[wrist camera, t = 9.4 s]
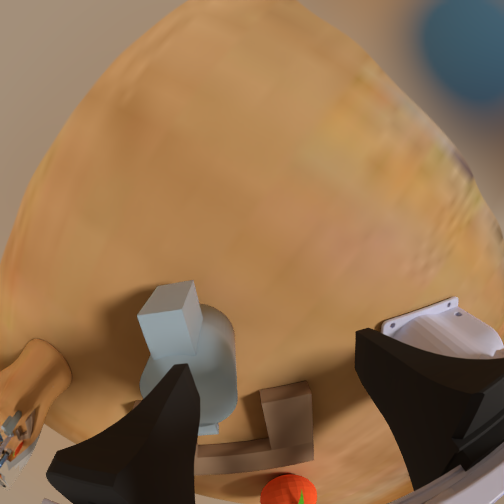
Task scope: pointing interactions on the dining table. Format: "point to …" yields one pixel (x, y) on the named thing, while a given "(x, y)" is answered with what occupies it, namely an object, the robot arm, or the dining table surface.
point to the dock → (269, 449)
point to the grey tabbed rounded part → (191, 349)
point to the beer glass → (27, 403)
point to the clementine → (289, 491)
